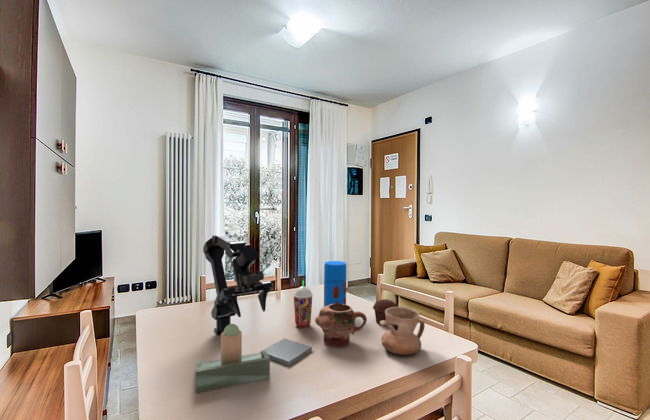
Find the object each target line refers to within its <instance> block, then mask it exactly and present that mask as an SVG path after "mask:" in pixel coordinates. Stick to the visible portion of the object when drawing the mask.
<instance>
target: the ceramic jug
mask: <svg viewBox="0 0 650 420" xmlns="http://www.w3.org/2000/svg"><path fill="white" fill-rule="evenodd" d="M385 316H386V321H385V320H383V321H380V324H381V325H380V324H379V325H380V326H383V325H387V326H386V327H388V329H389V330H387V331H385V332H384V333H382V336H381V338H380V341H381V344H382V347H383V348H384V349H386V350H387V351H388V352H390V353H392V354H394V355H400V356H411V355H414V354H417V353H418V352H420V350H421V349H422V342H421V337H422V336H423V333H424V331H425V321H424V320H423V319H422V318H420V313H419V312H418V311H417V310H416V309H413V308H408V307H403V306H398V307H391V308H388V309H386V310H385ZM418 324H419V329H418V332H417V334H415V333H414V331H415V330H416V328H417V325H418Z"/></svg>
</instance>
